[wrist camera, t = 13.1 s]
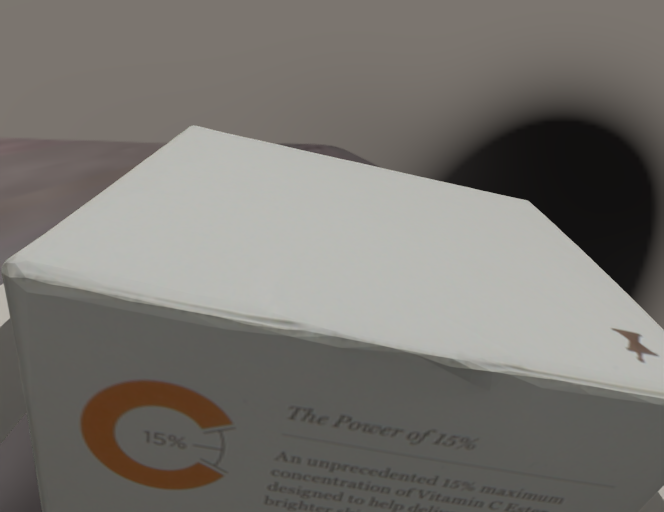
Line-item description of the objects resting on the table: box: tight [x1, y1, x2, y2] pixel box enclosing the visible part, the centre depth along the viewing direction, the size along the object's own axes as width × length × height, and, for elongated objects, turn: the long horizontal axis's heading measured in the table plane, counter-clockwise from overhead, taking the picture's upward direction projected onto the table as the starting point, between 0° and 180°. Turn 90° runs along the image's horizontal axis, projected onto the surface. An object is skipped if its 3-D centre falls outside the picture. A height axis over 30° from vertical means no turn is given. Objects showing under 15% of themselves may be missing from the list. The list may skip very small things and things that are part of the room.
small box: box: [1, 126, 664, 512], centre depth 10 cm, size 8×6×13 cm
